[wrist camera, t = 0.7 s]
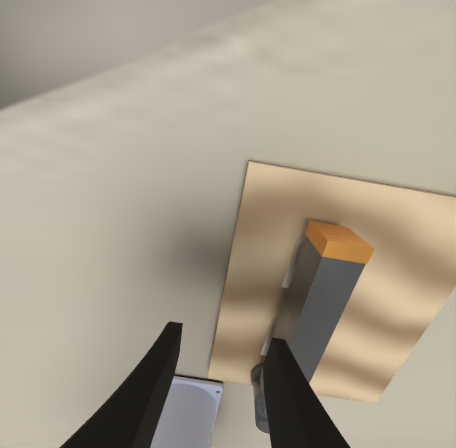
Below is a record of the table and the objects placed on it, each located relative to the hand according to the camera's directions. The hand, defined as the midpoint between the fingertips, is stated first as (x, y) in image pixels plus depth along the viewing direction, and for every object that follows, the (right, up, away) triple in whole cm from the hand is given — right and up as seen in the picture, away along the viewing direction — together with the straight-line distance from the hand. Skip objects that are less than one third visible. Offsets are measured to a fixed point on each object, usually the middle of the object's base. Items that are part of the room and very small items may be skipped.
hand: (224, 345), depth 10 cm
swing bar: (+6, -3, +7) cm, 10 cm away
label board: (+9, -1, +9) cm, 13 cm away
